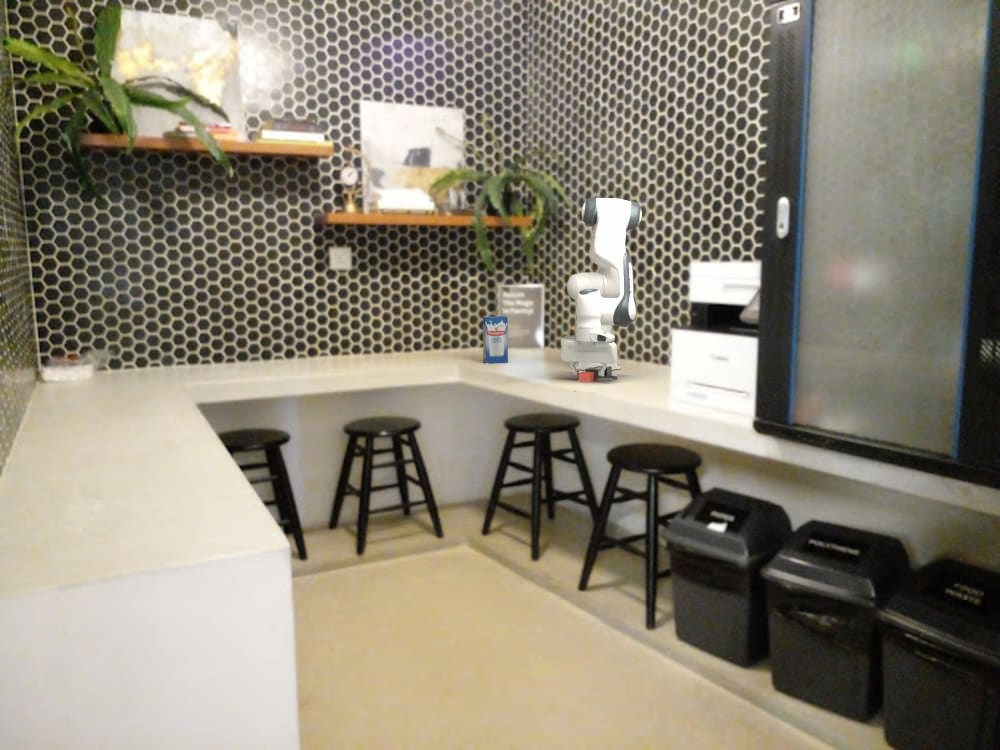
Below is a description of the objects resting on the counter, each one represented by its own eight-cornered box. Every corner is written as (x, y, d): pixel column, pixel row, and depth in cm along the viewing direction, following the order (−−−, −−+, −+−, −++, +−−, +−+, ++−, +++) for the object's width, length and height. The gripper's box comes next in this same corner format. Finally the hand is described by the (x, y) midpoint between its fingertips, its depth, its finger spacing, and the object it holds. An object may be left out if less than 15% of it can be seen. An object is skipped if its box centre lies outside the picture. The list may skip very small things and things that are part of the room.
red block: (583, 379, 266) (583, 371, 265) (594, 380, 264) (594, 372, 264) (579, 381, 262) (579, 372, 262) (589, 382, 260) (589, 373, 260)
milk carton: (485, 363, 326) (485, 317, 323) (483, 361, 332) (482, 316, 329) (508, 362, 328) (507, 317, 325) (505, 361, 334) (504, 316, 331)
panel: (598, 377, 282) (598, 363, 282) (628, 379, 277) (628, 365, 276) (575, 385, 263) (575, 370, 263) (607, 387, 258) (607, 372, 257)
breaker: (590, 376, 271) (590, 366, 271) (603, 377, 269) (603, 367, 269) (585, 378, 267) (585, 368, 267) (598, 379, 265) (598, 369, 264)
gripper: (557, 335, 263) (557, 375, 264) (613, 337, 253) (613, 377, 255) (564, 334, 268) (564, 373, 270) (619, 335, 259) (619, 375, 260)
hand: (588, 375), depth 262 cm, fingers open, 8 cm apart
